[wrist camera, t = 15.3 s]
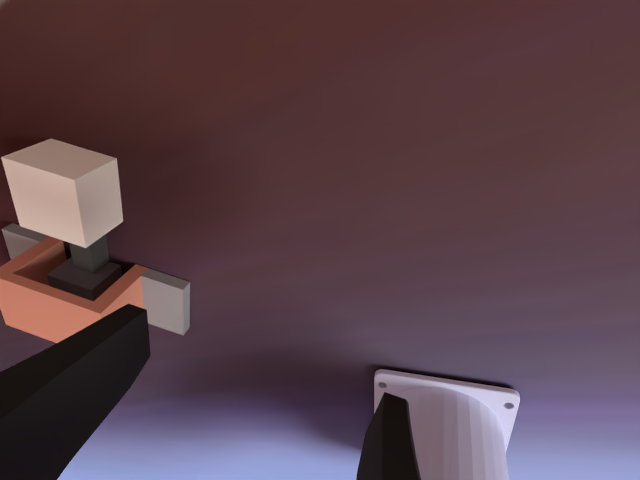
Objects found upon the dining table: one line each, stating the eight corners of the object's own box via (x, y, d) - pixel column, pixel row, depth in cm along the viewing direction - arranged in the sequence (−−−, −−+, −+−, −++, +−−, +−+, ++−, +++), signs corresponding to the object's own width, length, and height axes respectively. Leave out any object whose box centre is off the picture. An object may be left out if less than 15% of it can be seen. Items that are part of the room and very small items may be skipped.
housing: (189, 327, 27) (151, 377, 24) (26, 270, 29) (-34, 310, 25) (190, 282, 25) (147, 330, 21) (12, 223, 26) (-55, 259, 23)
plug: (131, 296, 27) (99, 327, 25) (78, 278, 28) (42, 306, 25) (116, 158, 22) (74, 180, 19) (51, 138, 22) (1, 157, 20)
